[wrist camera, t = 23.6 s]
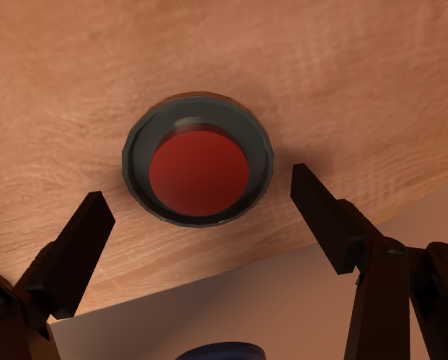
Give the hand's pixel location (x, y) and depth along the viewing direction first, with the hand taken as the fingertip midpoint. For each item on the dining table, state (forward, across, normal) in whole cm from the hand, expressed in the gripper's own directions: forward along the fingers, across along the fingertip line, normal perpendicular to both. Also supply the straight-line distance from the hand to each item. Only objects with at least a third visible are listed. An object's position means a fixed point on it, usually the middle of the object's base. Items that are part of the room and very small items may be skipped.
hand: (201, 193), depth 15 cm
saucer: (+4, 0, 0) cm, 4 cm away
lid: (+2, 0, 0) cm, 2 cm away
